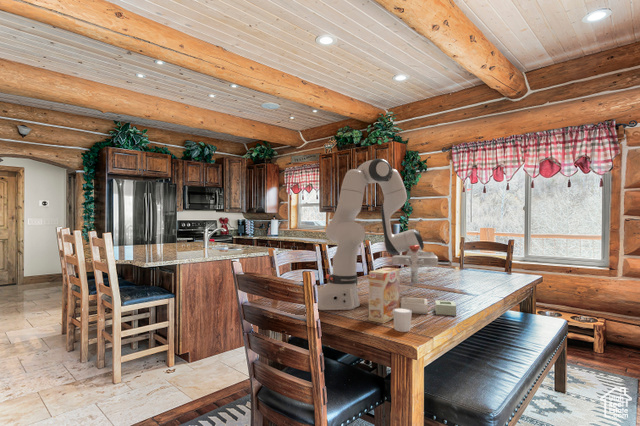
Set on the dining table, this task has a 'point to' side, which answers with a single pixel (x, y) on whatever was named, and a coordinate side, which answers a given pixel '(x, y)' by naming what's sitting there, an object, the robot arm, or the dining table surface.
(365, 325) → the dining table surface
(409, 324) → the shot glass
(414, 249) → the pin
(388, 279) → the coffeecake box
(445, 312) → the socket block
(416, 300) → the tray
